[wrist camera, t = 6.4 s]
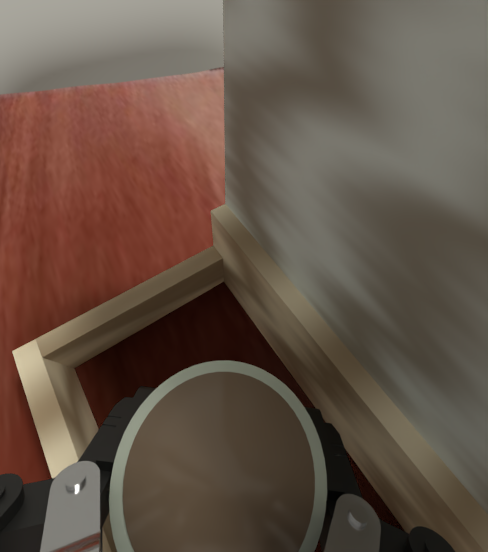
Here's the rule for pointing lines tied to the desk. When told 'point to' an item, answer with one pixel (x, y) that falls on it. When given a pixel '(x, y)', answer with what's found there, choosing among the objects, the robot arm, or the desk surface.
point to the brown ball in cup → (219, 467)
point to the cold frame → (340, 246)
